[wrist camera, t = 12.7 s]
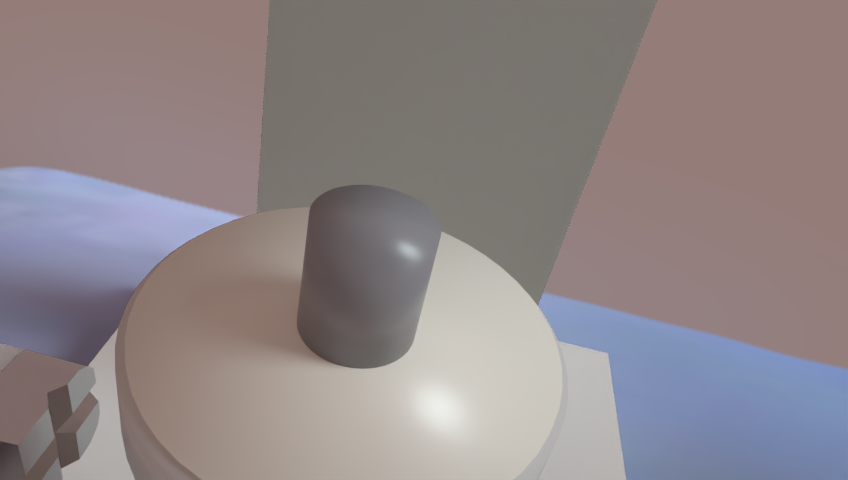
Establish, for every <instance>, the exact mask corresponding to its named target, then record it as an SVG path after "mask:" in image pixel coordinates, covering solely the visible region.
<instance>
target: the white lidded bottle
mask: <svg viewBox="0 0 848 480" xmlns="http://www.w3.org/2000/svg"><path fill="white" fill-rule="evenodd" d="M115 376H116V385H117V395H118V404H119V414H120V424H121V433H122V438H123V443H124V448H125V453H126V458H127V461H128V463H129V466H130V468H131V471H132V473H133V476H134V478H135V480H538V478H539V476H540V474H541V472H542V470H543V468H544V466H545V464H546V462H547V460H548V458H549V456H550V454H551V452H552V450H553V448H554V446H555V444H556V442H557V440H558V437H559V434H560V431H561V428H562V425H563V422H564V420H565V415H566V408H567V401H568V377H567V371H566V366H565V361H564V356H563V353H562V350H561V348H560V345H559V342H558V340H557V337H556V335H555V333H554V331H553V329H552V327H551V326H550V324H549V322H548V320H547V318H546V317H545V315H544V314H543V312H542V311H541V310H540V308H539V307H538V305H537V304H536V303H535V301H534V300H533V299H532V298H531V297H530V295H529V294H528V293H527V292H526V291H525V290H524V289H523V288H522V287H521V285H520V284H519V283H518V282H517V281H516V280H515V279H514V278H513V277H511V276H510V275H509V274H508V273H507V272H506V271H505V270H504V269H503V268H502V267H500V266H499V265H498V264H496V263H495V262H493V261H492V260H491V259H489V258H488V257H487V256H485V255H484V254H482V253H481V252H479V251H477V250H476V249H474V248H473V247H471V246H469V245H468V244H466V243H464V242H462V241H460V240H458V239H456V238H454V237H452V236H450V235H448V234H446V233H444V232H441V226H440V223H439V221H438V219H437V217H436V216H435V214H434V213H433V212H432V211H431V210H430V209H429V208H428V207H427V206H426V205H424V204H423V203H422V202H420V201H418V200H417V199H415V198H413V197H411V196H409V195H407V194H405V193H402V192H399V191H396V190H393V189H389V188H385V187H380V186H373V185H349V186H342V187H338V188H334V189H331V190H329V191H327V192H325V193H323V194H321V195H320V196H319V197H317V198H316V199H315V201H314V202H313V203H312V205H311V207H297V208H288V209H279V210H273V211H268V212H263V213H258V214H253V215H250V216H246V217H243V218H239V219H236V220H233V221H230V222H228V223H225V224H223V225H220V226H218V227H215V228H213V229H211V230H209V231H207V232H205V233H203V234H201V235H199V236H197V237H195V238H193V239H191V240H190V241H188V242H186V243H185V244H183V245H182V246H180V247H179V248H177V249H176V250H174V251H173V252H171V253H170V254H169V255H168V256H166V257H165V258H164V259H163V260H162V261H161V262H160V263H158V264H157V265H156V266H155V267H154V268H153V269H152V270H151V271H150V272H149V274H148V275H147V276H146V277H145V278H144V279H143V280H142V282H141V283H140V284H139V285H138V287H137V289H136V290H135V292H134V293H133V295H132V297H131V298H130V300H129V301H128V303H127V305H126V308H125V310H124V313H123V316H122V318H121V321H120V323H119V327H118V332H117V338H116V343H115Z"/></svg>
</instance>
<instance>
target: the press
mask: <svg viewBox="0 0 848 480" xmlns="http://www.w3.org/2000/svg"><path fill="white" fill-rule="evenodd" d="M656 2H657V0H270V5H269V20H268V37H267V52H266V68H265V86H264V101H263V117H262V134H261V149H260V166H259V182H258V198H257V214H258V213H263V212H268V211H273V210H279V209H288V208H297V207H311V205H312V203H313V202H314V201H315V199H316V198H317V197H319V196H320V195H321V194H323V193H325V192H327V191H329V190H331V189H334V188H338V187H342V186H349V185H373V186H380V187H385V188H389V189H393V190H396V191H399V192H402V193H405V194H407V195H409V196H411V197H413V198H415V199H417V200H418V201H420V202H422V203H423V204H424V205H426V206H427V207H428V208H429V209H430V210H431V211H432V212H433V213H434V214H435V216H436V217H437V219H438V221H439V223H440V226H441V232H444V233H446V234H448V235H450V236H452V237H454V238H456V239H458V240H460V241H462V242H464V243H466V244H468V245H469V246H471V247H473V248H474V249H476V250H477V251H479V252H481V253H482V254H484V255H485V256H487V257H488V258H489V259H491V260H492V261H493V262H495V263H496V264H498V265H499V266H500V267H502V268H503V269H504V270H505V271H506V272H507V273H508V274H509V275H510V276H511V277H513V278H514V279H515V280H516V281H517V282H518V283H519V284H520V285H521V287H522V288H523V289H524V290H525V291H526V292H527V293H528V294H529V295H530V297H531V298H532V299H533V300H534V301H535V303H536V304H537V305H538V304H539V301H540V299H541V296H542V293H543V291H544V288H545V286H546V283H547V281H548V278H549V276H550V273H551V271H552V268H553V265H554V263H555V260H556V258H557V255H558V253H559V250H560V247H561V245H562V242H563V240H564V237H565V235H566V232H567V229H568V227H569V224H570V222H571V219H572V217H573V214H574V212H575V209H576V206H577V204H578V202H579V199H580V196H581V194H582V191H583V189H584V186H585V184H586V181H587V179H588V176H589V173H590V171H591V168H592V166H593V163H594V160H595V158H596V156H597V153H598V151H599V148H600V145H601V143H602V140H603V138H604V135H605V133H606V130H607V127H608V125H609V122H610V120H611V117H612V115H613V112H614V110H615V107H616V105H617V102H618V99H619V97H620V94H621V92H622V89H623V87H624V84H625V82H626V79H627V76H628V74H629V71H630V69H631V66H632V64H633V61H634V59H635V56H636V53H637V51H638V48H639V46H640V43H641V41H642V38H643V36H644V33H645V30H646V28H647V26H648V23H649V20H650V18H651V15H652V13H653V10H654V8H655V5H656ZM117 332H118V329H117V330H116V331H115V332H114V334H113V335H112V336H111V337H110V339H109V340H108V341H107V342H106V344H105V345H104V346H103V347H102V349H101V350H100V351H99V353H98V354H97V355H96V356H95V358H94V359H93V360H92V361H91V363H90V364H89V365H88V367H92V368H94V373H95V379H96V383H95V385H94V386H93V387H92V389H91V390H90V392H91V393H92V394H93V396H94V397H95V398H96V399H97V400H98V401H99V409H100V414H99V420H98V426H97V428H96V431H95V433H94V436H93V438H92V440H91V443H90V444H89V446H88V447H87V449H86V450H85V452H84V453H83V455H82V456H81V458H80V459H79V460H77V461H75V462H73V463H71V464H69V465H67V466H66V467H64V468H62V476H63V480H135V478H134V476H133V473H132V471H131V468H130V466H129V463H128V461H127V458H126V453H125V448H124V443H123V438H122V433H121V424H120V414H119V404H118V395H117V385H116V376H115V343H116V338H117ZM558 342H559V341H558ZM559 345H560V348H561V350H562V353H563V356H564V361H565V366H566V371H567V377H568V401H567V408H566V415H565V420H564V422H563V425H562V428H561V431H560V434H559V437H558V440H557V442H556V444H555V446H554V448H553V450H552V452H551V454H550V456H549V458H548V460H547V462H546V464H545V466H544V468H543V470H542V472H541V474H540V476H539V478H538V480H626V475H625V469H624V462H623V455H622V448H621V441H620V434H619V427H618V420H617V413H616V406H615V399H614V392H613V385H612V378H611V371H610V364H609V357H608V353H604V352H600V351H596V350H592V349H588V348H584V347H580V346H576V345H571V344H567V343H563V342H559Z"/></svg>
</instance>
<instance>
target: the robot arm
mask: <svg viewBox="0 0 848 480" xmlns="http://www.w3.org/2000/svg"><path fill="white" fill-rule="evenodd" d="M95 383H96V379H95V373H94V368H92V367H88V366H85V365H81V364H77V363H73V362H70V361H66V360H62V359H59V358H55V357H51V356H48V355H44V354H40V353H36V352H33V351H29V350H25V349H21V348H17V347H14V346H10V345H6V344H2V343H0V480H63V476H62V468H64V467H66V466H67V465H69V464H71V463H73V462H75V461H77V460H79V459H80V458H81V456H82V455H83V453H84V452H85V450H86V449H87V447H88V446H89V444H90V443H91V440H92V438H93V436H94V433H95V431H96V428H97V426H98V420H99V414H100V409H99V401H98V400H97V399H96V398H95V397H94V396H93V394H92V393H91V392H90V390H91V389H92V387H93V386H94V385H95Z"/></svg>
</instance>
